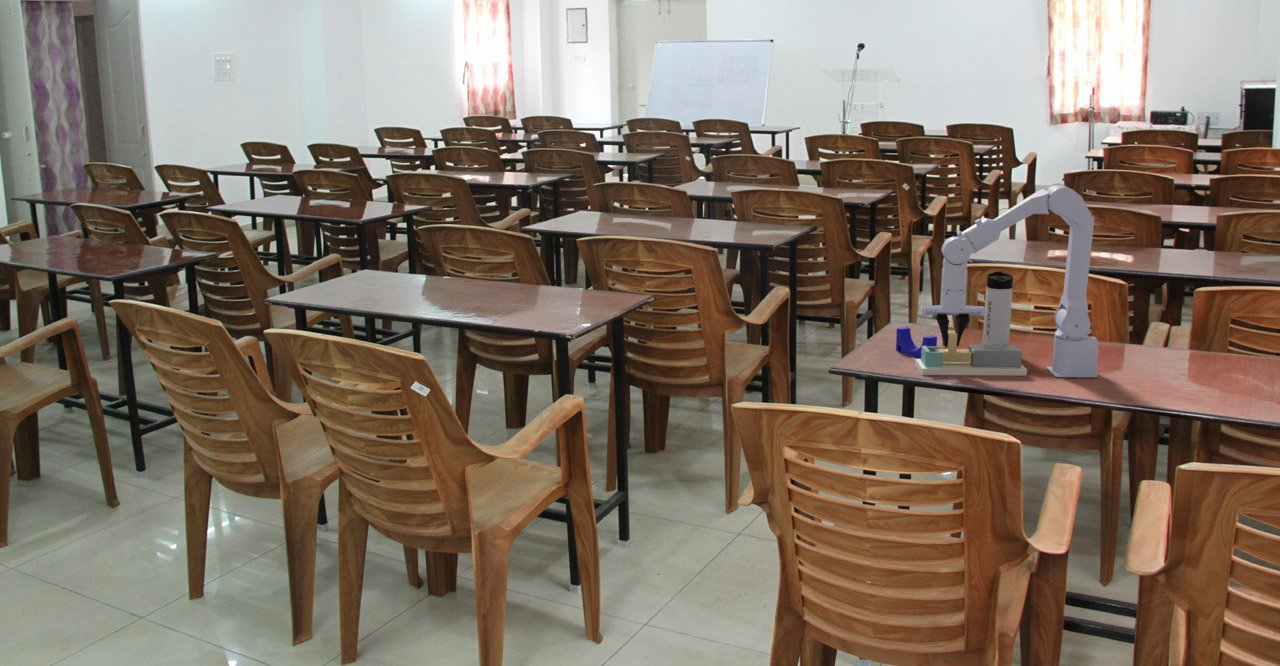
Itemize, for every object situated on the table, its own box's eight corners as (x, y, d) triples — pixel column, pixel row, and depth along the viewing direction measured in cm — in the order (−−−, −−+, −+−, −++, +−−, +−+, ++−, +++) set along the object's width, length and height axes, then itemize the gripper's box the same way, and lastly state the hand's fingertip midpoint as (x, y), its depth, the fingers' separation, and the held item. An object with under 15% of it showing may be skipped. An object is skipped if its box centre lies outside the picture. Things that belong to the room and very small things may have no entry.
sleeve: (1014, 360, 266) (1015, 344, 265) (1020, 367, 260) (1022, 350, 260) (967, 360, 267) (968, 344, 266) (972, 367, 261) (973, 350, 260)
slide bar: (997, 359, 265) (999, 330, 264) (1001, 363, 262) (1003, 334, 260) (933, 358, 266) (934, 330, 265) (936, 362, 263) (937, 334, 261)
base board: (1016, 365, 268) (1017, 359, 268) (1026, 375, 259) (1027, 369, 259) (915, 364, 270) (915, 358, 269) (921, 374, 261) (922, 368, 261)
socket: (937, 360, 267) (938, 345, 267) (942, 366, 262) (943, 351, 261) (920, 360, 268) (921, 345, 267) (925, 366, 262) (925, 351, 261)
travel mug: (1005, 348, 284) (1010, 271, 279) (1010, 355, 277) (1016, 276, 273) (979, 348, 284) (984, 271, 280) (985, 355, 278) (989, 276, 273)
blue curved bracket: (940, 359, 275) (941, 336, 274) (926, 361, 273) (927, 338, 272) (910, 349, 286) (911, 326, 284) (895, 351, 284) (896, 328, 282)
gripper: (981, 285, 264) (978, 341, 267) (919, 285, 265) (916, 341, 268) (988, 291, 257) (985, 348, 260) (924, 291, 258) (921, 348, 261)
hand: (950, 345), depth 263 cm, fingers closed on slide bar, 2 cm apart
